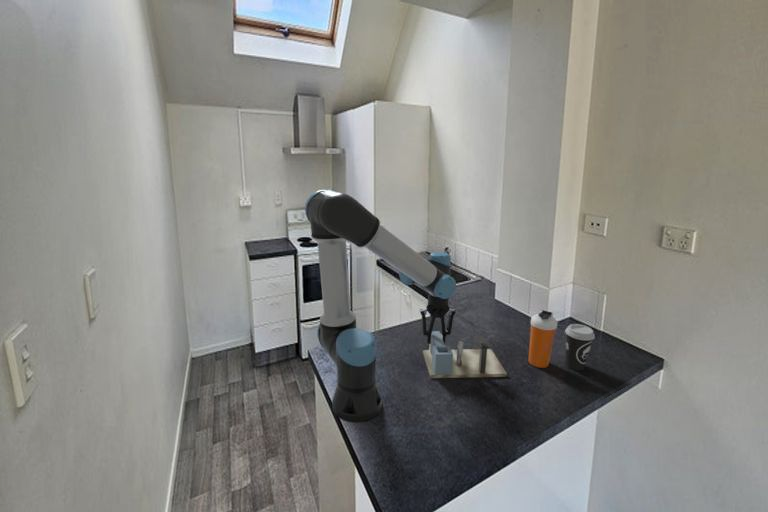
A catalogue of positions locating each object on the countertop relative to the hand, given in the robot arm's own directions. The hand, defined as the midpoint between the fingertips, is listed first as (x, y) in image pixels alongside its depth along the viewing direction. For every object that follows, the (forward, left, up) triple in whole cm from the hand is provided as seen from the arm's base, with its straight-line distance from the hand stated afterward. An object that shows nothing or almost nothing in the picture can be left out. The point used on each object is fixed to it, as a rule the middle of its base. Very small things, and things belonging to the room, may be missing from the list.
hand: (435, 350), depth 143 cm
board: (+5, -10, -2) cm, 11 cm away
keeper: (+7, -16, -2) cm, 18 cm away
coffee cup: (+40, -32, -2) cm, 51 cm away
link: (-3, -6, -1) cm, 7 cm away
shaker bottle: (+30, -24, -2) cm, 39 cm away
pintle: (+2, -11, -2) cm, 12 cm away
